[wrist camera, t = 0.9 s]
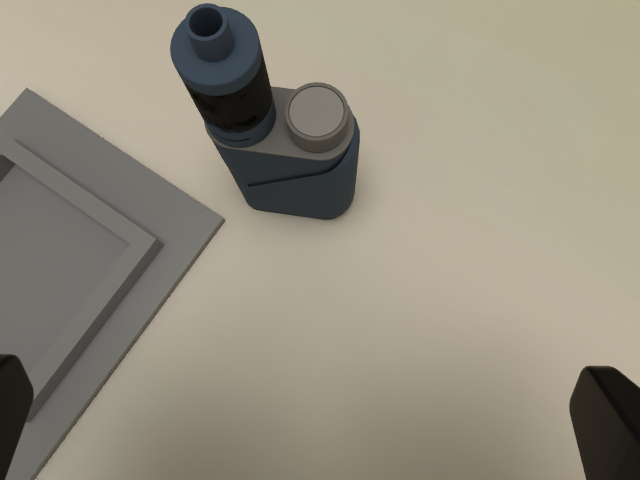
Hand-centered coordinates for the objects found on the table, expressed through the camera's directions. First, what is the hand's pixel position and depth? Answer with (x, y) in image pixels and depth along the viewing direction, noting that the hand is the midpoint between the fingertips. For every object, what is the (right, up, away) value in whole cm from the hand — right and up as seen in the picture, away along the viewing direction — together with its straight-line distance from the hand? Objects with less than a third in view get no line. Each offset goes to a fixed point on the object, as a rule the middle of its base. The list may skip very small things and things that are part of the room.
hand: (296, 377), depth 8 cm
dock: (-13, +1, +15) cm, 20 cm away
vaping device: (-1, +4, +16) cm, 17 cm away
